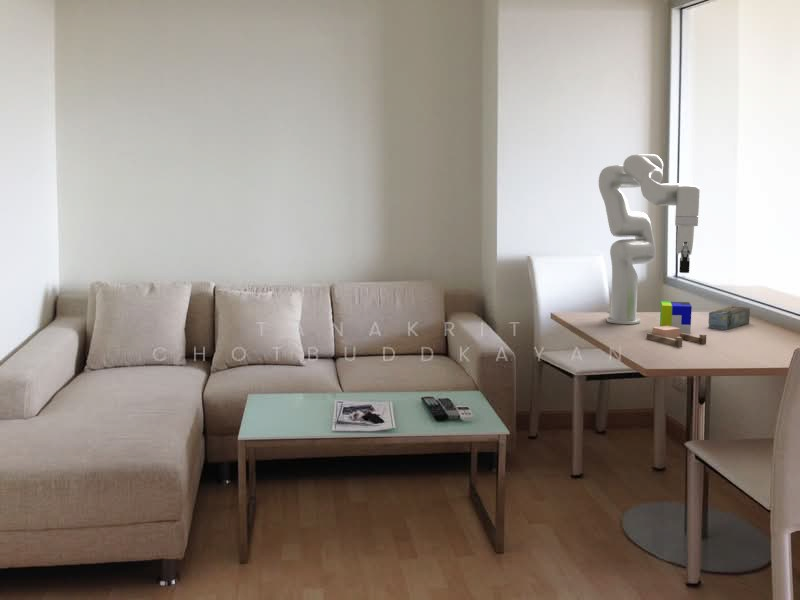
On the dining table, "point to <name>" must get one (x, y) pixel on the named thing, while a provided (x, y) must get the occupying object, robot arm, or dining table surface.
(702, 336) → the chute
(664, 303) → the puzzle toy
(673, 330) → the block
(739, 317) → the beverage carton
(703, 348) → the dining table surface
